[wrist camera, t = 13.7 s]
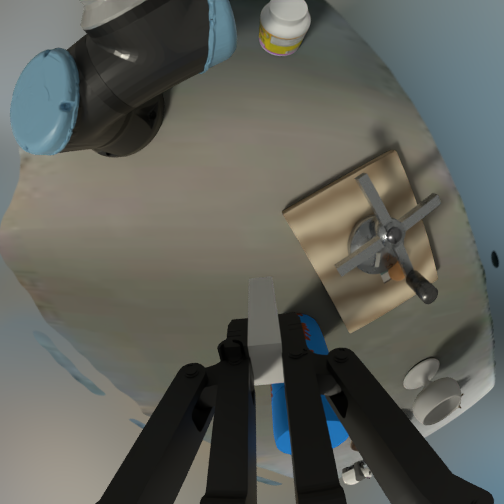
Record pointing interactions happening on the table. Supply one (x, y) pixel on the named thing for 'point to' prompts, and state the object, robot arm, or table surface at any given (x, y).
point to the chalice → (432, 392)
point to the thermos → (334, 425)
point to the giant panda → (356, 473)
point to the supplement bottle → (283, 26)
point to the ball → (396, 272)
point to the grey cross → (386, 241)
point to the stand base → (338, 230)
